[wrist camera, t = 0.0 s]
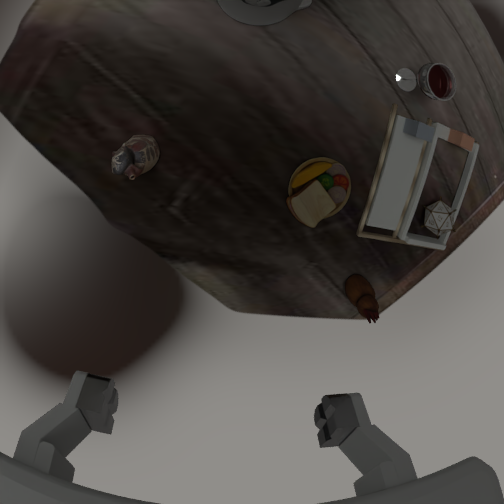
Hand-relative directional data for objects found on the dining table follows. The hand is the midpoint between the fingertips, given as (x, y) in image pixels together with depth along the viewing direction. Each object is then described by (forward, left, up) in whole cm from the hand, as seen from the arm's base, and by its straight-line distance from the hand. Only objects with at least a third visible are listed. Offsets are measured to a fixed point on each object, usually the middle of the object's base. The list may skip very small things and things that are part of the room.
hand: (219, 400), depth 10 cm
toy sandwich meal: (+5, +18, -48) cm, 52 cm away
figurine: (+2, -16, -48) cm, 51 cm away
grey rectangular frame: (-2, +47, -48) cm, 67 cm away
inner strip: (-2, +34, -48) cm, 59 cm away
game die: (+4, +47, -48) cm, 67 cm away
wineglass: (-22, +31, -48) cm, 61 cm away
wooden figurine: (+25, +33, -48) cm, 64 cm away
